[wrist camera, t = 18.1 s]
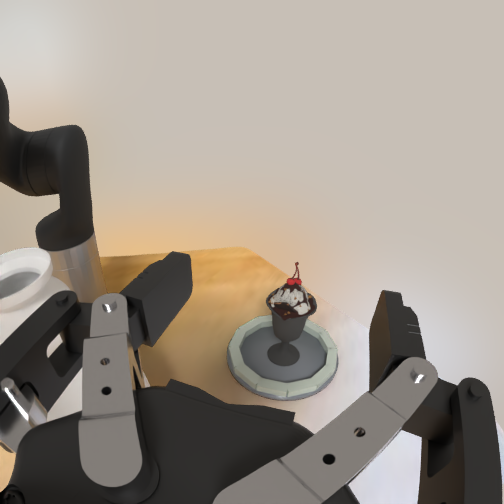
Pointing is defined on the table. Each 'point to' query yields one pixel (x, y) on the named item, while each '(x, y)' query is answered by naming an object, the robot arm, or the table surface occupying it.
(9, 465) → the table surface
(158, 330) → the robot arm
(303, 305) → the sundae
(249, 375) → the tray
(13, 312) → the decorative vase
